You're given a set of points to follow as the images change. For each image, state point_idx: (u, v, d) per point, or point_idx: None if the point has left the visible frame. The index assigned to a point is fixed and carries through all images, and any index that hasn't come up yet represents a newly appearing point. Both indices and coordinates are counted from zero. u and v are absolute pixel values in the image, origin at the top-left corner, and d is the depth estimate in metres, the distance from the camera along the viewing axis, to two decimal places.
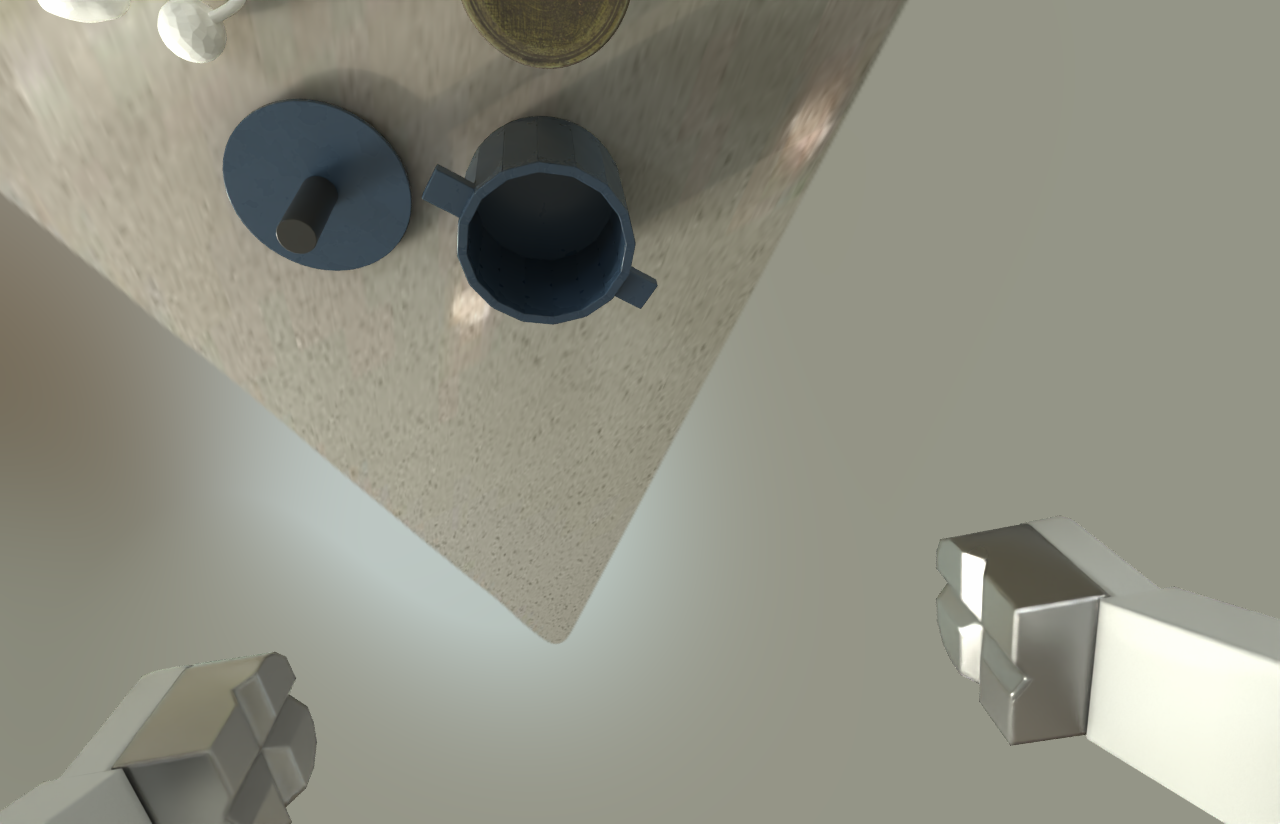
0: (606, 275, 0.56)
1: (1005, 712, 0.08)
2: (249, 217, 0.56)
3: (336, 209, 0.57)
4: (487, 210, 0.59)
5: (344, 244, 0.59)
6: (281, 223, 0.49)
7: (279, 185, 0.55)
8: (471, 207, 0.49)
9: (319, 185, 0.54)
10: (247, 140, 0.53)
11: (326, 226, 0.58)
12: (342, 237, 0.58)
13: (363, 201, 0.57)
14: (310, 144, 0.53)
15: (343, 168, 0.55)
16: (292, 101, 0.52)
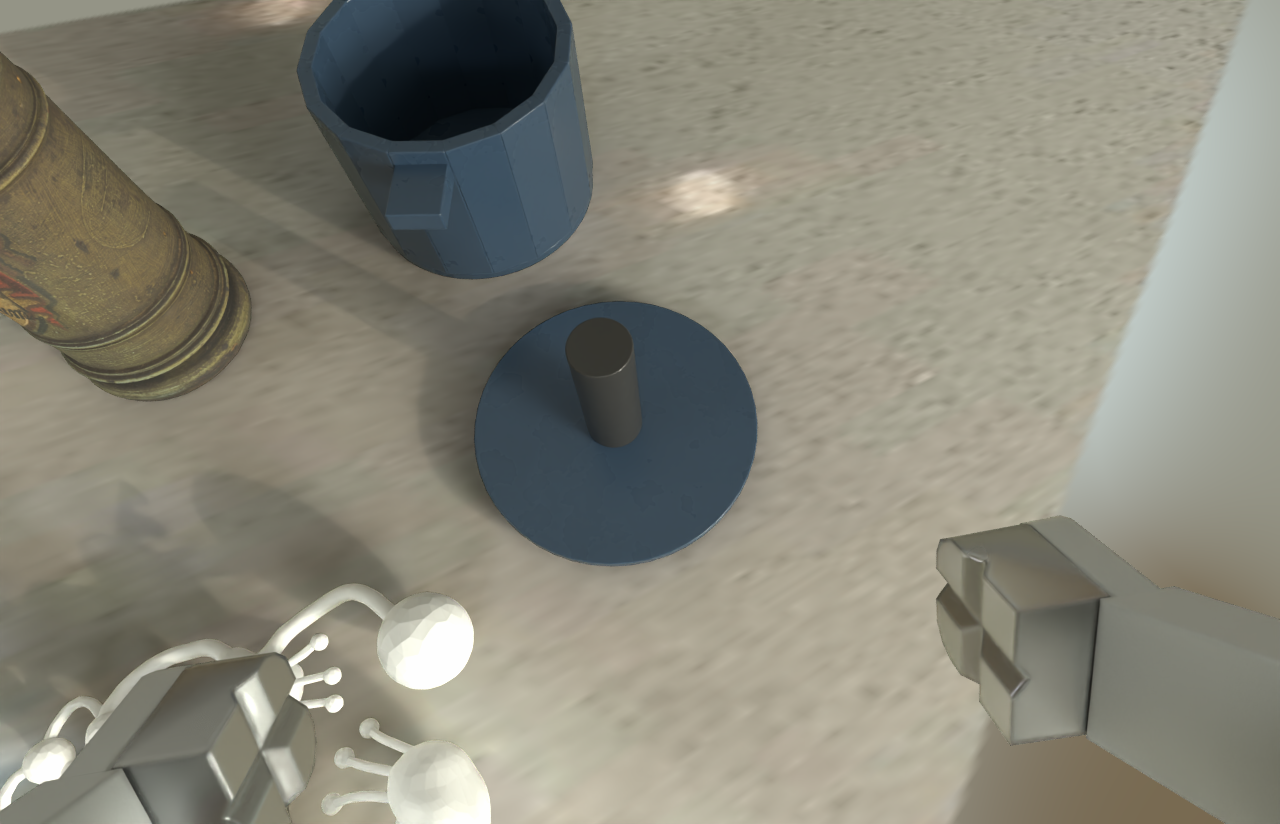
0: (471, 2, 0.37)
1: (1005, 712, 0.08)
2: (713, 500, 0.33)
3: None
4: None
5: (683, 365, 0.36)
6: (585, 373, 0.27)
7: (632, 476, 0.33)
8: (411, 146, 0.31)
9: None
10: (582, 537, 0.32)
11: (666, 396, 0.35)
12: (673, 371, 0.35)
13: None
14: (544, 456, 0.34)
15: (559, 405, 0.35)
16: (491, 497, 0.33)
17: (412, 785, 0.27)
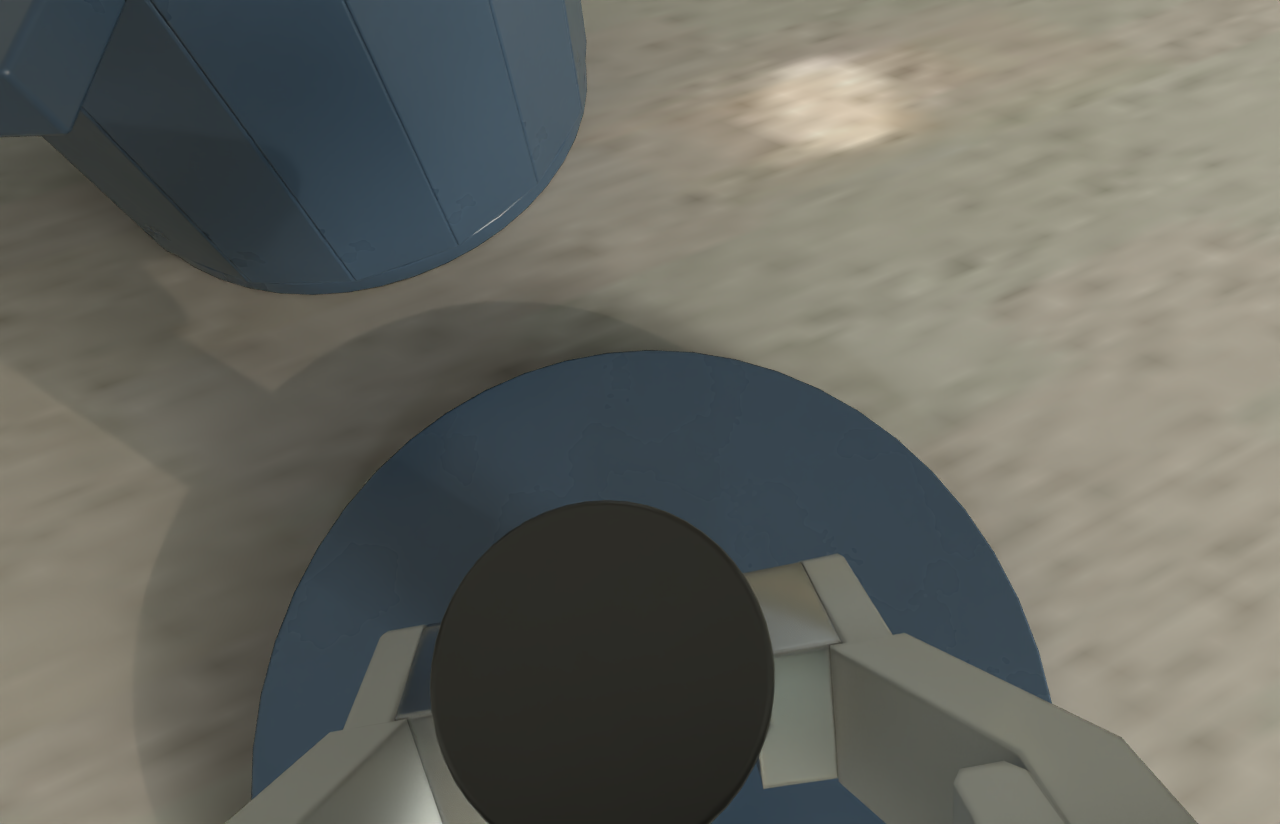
0: None
1: None
2: None
3: None
4: None
5: (826, 525, 0.13)
6: None
7: None
8: None
9: None
10: None
11: None
12: (799, 543, 0.13)
13: None
14: None
15: None
16: None
17: None
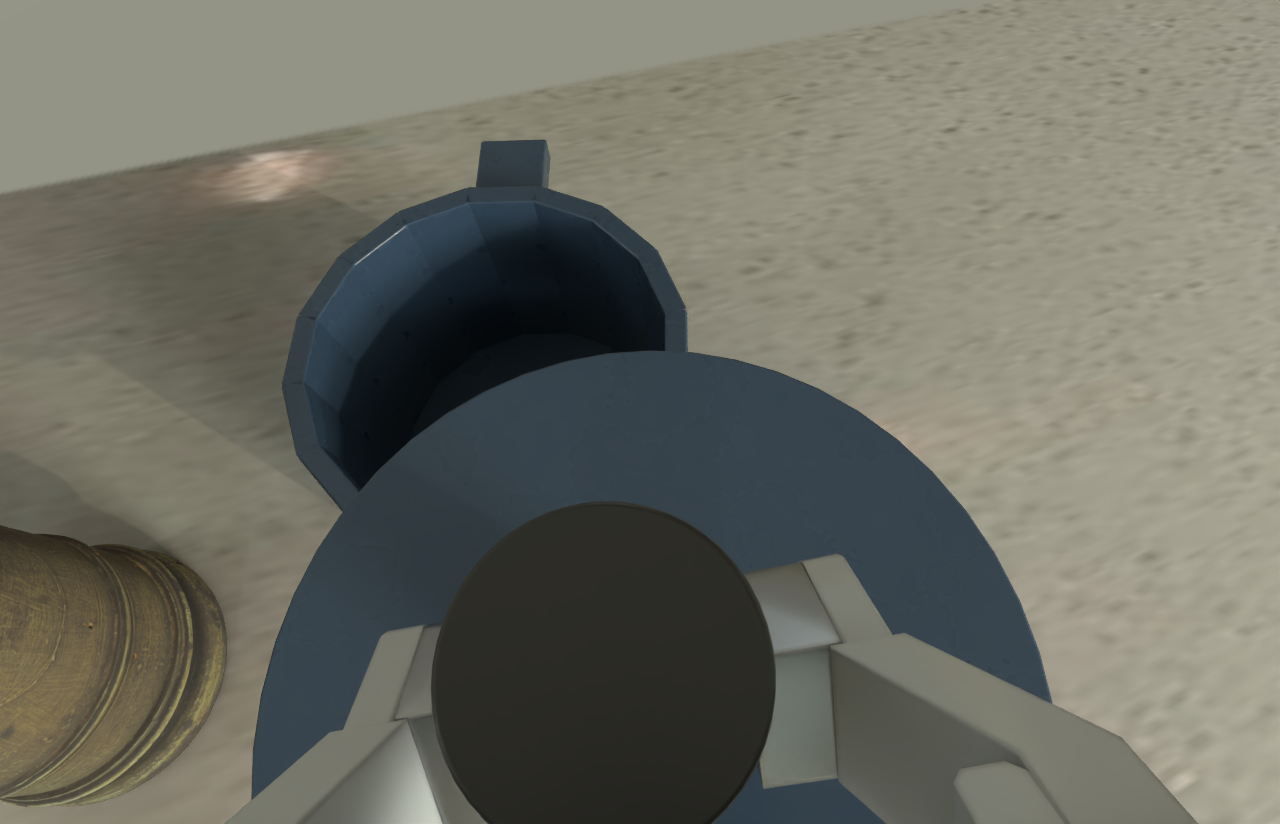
0: (529, 239, 0.27)
1: None
2: None
3: None
4: None
5: (827, 526, 0.13)
6: None
7: None
8: None
9: None
10: None
11: None
12: (800, 544, 0.13)
13: None
14: None
15: None
16: None
17: None
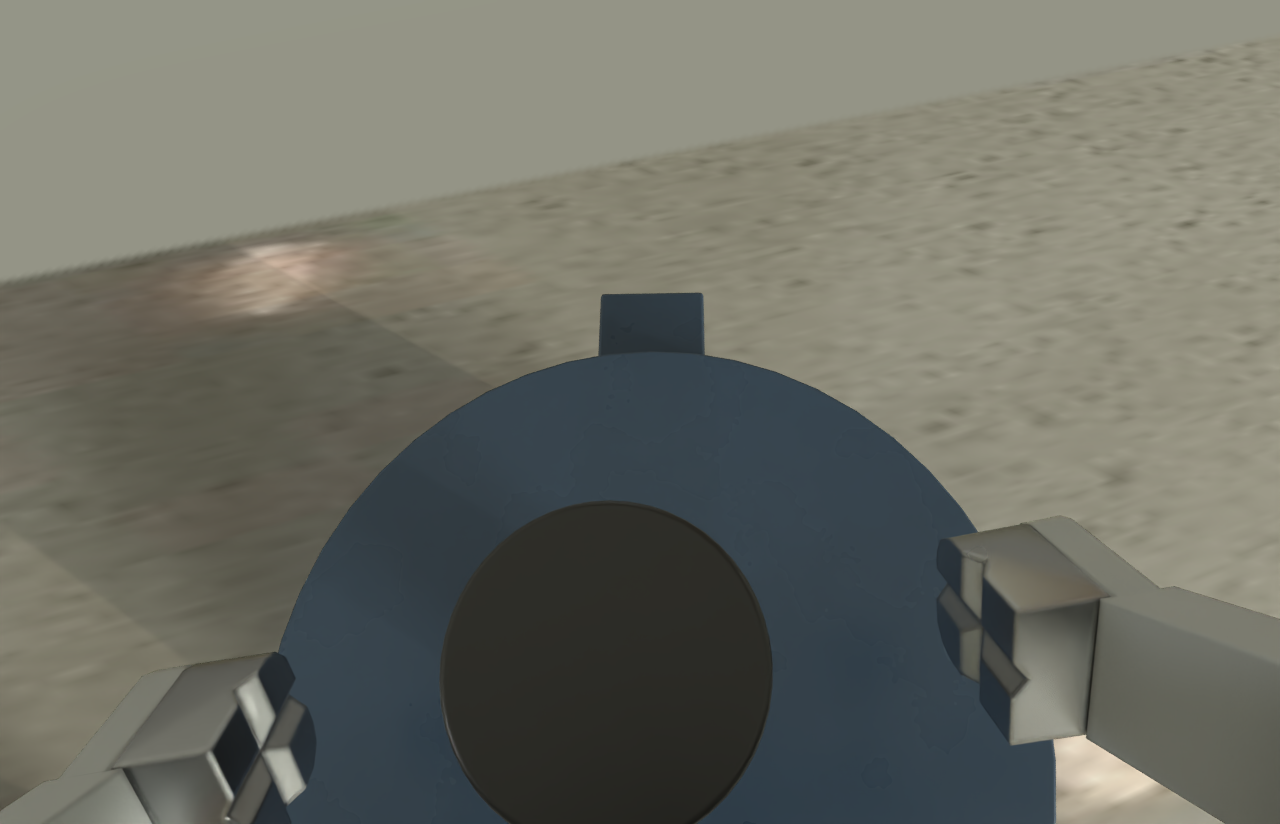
0: None
1: (1005, 712, 0.08)
2: None
3: None
4: None
5: (825, 524, 0.14)
6: None
7: None
8: None
9: None
10: None
11: (786, 618, 0.13)
12: (798, 542, 0.13)
13: None
14: (450, 806, 0.12)
15: None
16: None
17: None
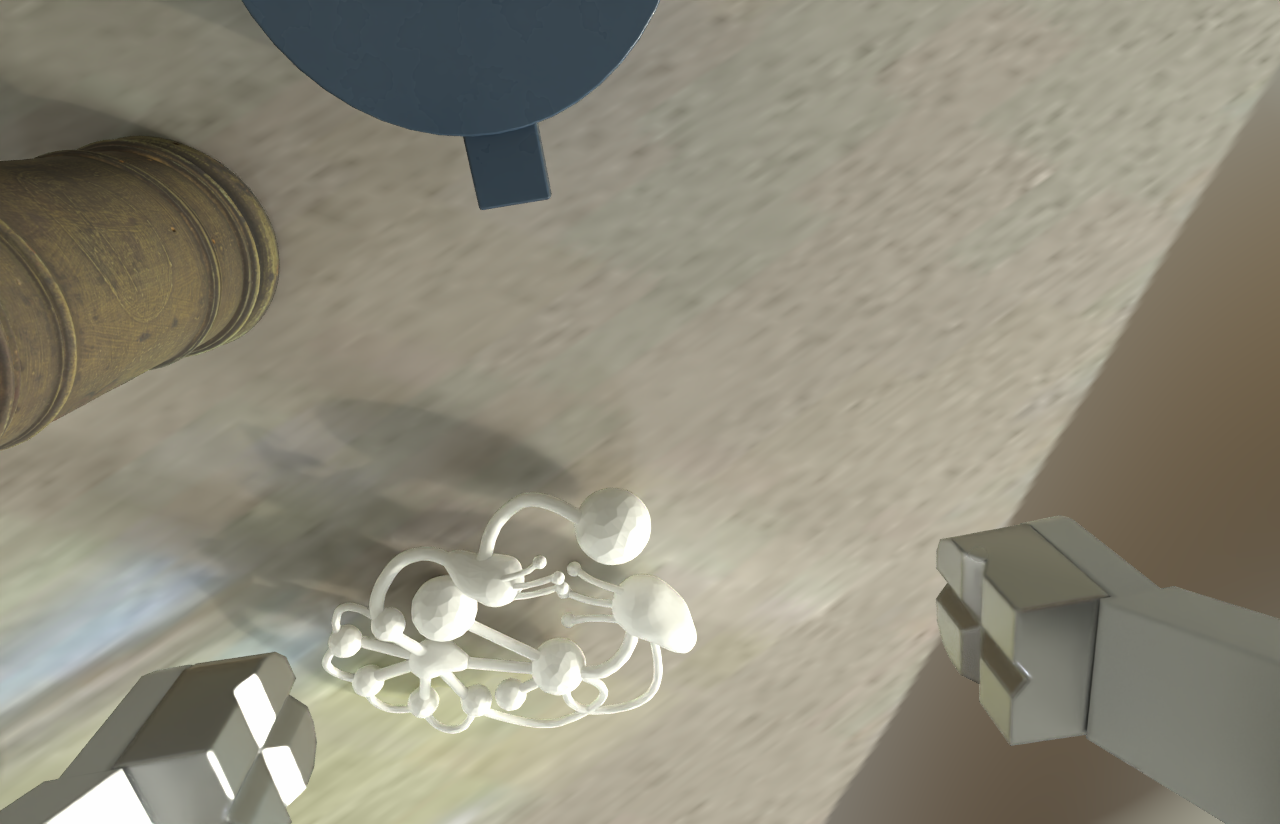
0: None
1: (1005, 712, 0.08)
2: (629, 4, 0.21)
3: None
4: None
5: None
6: None
7: None
8: None
9: None
10: (446, 99, 0.22)
11: None
12: None
13: None
14: None
15: None
16: (287, 55, 0.21)
17: (640, 623, 0.37)
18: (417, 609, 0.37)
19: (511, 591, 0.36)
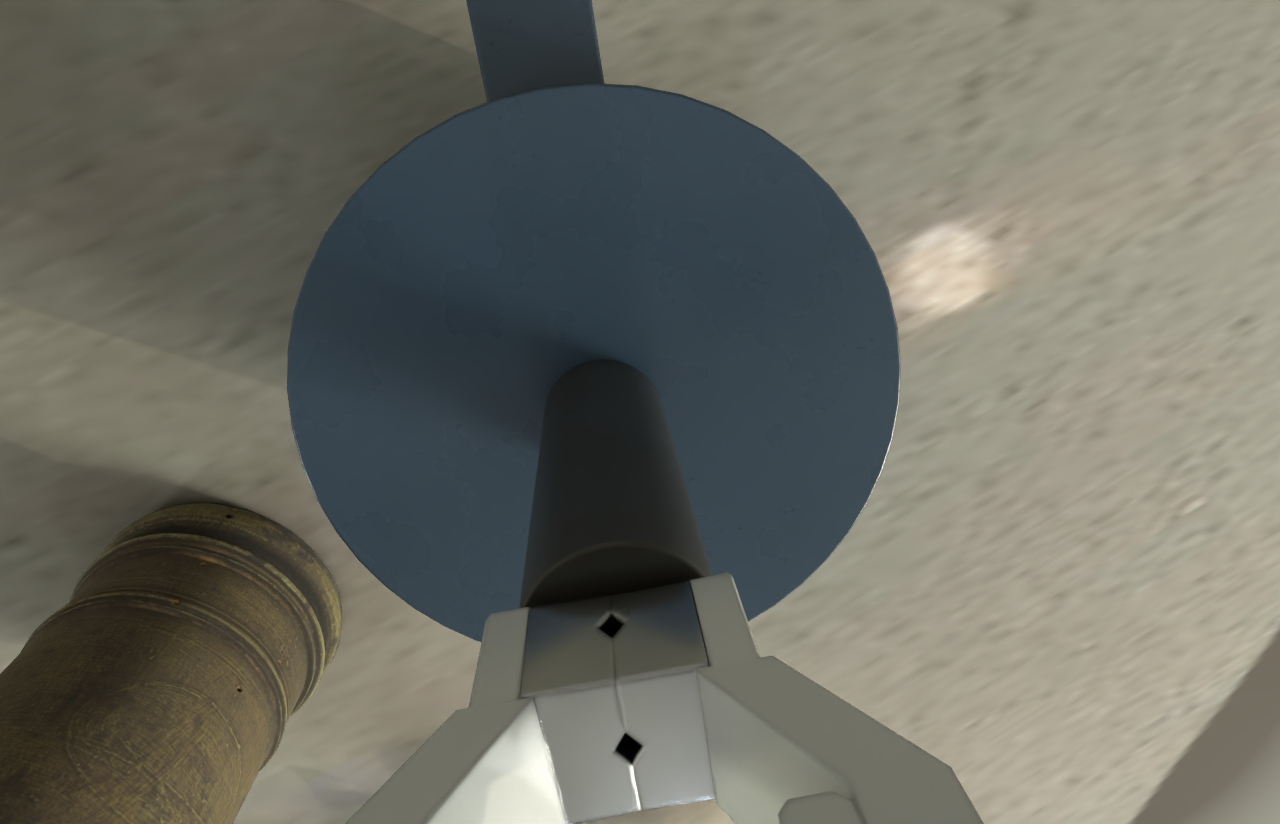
0: None
1: (635, 777, 0.08)
2: (817, 530, 0.18)
3: (624, 347, 0.16)
4: None
5: (736, 255, 0.15)
6: None
7: None
8: None
9: None
10: None
11: (706, 340, 0.16)
12: (713, 275, 0.15)
13: (534, 288, 0.15)
14: (477, 508, 0.17)
15: (474, 399, 0.16)
16: (400, 596, 0.17)
17: None
18: None
19: None
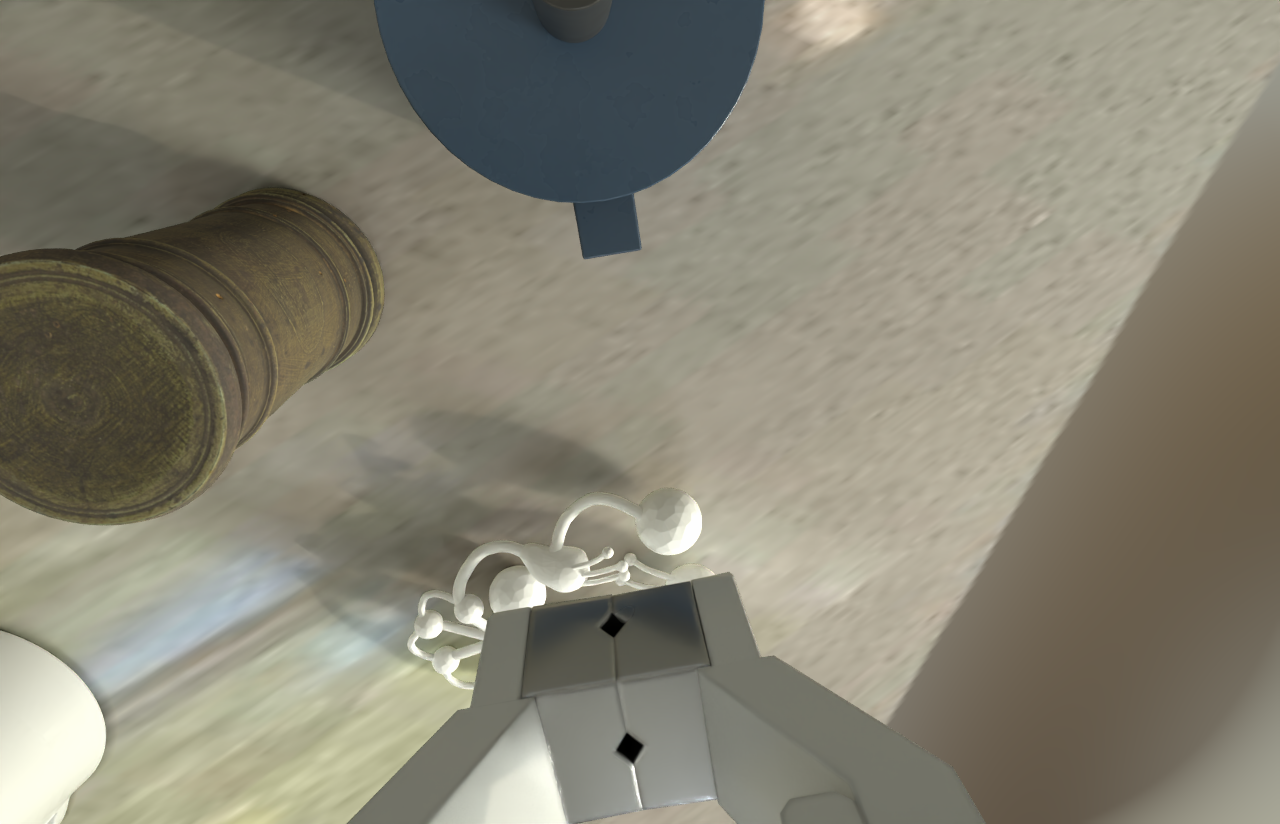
0: None
1: (637, 777, 0.08)
2: (716, 99, 0.27)
3: None
4: None
5: None
6: (558, 5, 0.19)
7: (611, 81, 0.26)
8: None
9: None
10: (566, 174, 0.27)
11: None
12: None
13: None
14: (491, 70, 0.26)
15: None
16: (440, 140, 0.26)
17: None
18: (496, 595, 0.42)
19: (580, 578, 0.41)
